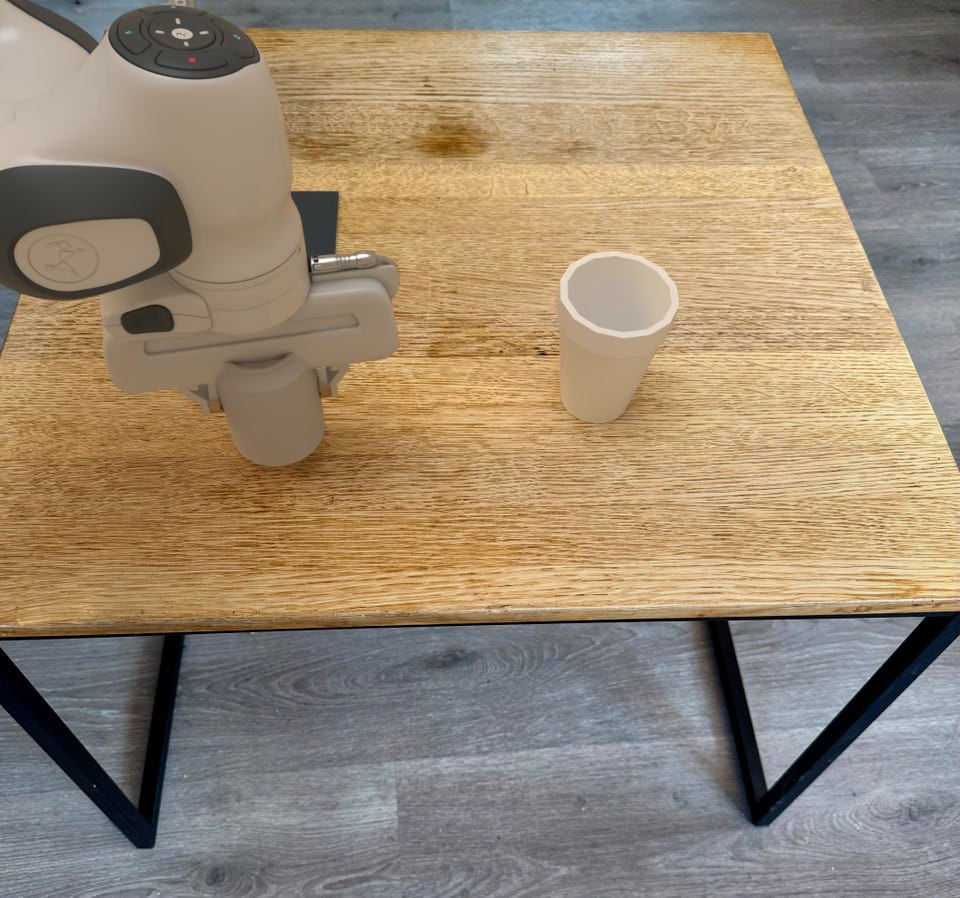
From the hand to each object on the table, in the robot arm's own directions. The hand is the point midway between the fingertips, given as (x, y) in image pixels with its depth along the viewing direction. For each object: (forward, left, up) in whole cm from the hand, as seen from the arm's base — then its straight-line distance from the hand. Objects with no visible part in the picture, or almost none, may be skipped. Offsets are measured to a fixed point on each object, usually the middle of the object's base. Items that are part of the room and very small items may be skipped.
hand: (271, 399), depth 68 cm
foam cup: (+27, +6, -8) cm, 29 cm away
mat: (-5, +26, -8) cm, 27 cm away
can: (0, 0, -5) cm, 5 cm away
